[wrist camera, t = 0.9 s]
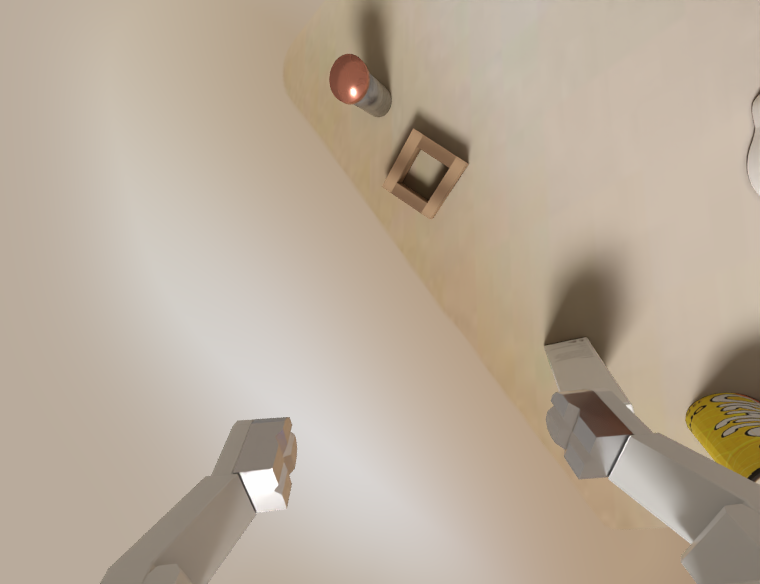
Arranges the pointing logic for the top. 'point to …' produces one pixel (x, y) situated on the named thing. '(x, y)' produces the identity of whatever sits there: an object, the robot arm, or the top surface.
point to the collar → (405, 162)
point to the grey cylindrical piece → (358, 86)
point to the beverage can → (729, 431)
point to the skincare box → (581, 368)
